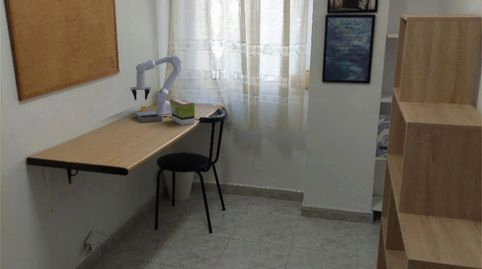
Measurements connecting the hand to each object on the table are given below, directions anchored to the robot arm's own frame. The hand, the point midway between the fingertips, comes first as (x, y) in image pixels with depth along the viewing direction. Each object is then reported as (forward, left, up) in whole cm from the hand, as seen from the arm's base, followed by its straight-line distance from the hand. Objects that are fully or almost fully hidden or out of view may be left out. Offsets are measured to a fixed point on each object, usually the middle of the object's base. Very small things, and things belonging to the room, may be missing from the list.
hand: (140, 99), depth 323 cm
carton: (+1, +20, -10) cm, 22 cm away
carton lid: (+1, +12, -7) cm, 14 cm away
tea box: (-18, +33, -11) cm, 39 cm away
